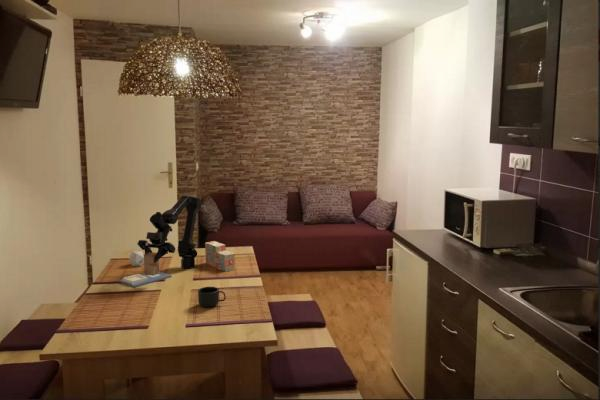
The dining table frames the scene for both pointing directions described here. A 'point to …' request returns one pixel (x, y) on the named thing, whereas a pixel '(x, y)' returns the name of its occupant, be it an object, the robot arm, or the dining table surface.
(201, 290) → the mug
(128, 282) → the board
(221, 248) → the stack of blocks
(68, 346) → the dining table surface
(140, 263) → the die
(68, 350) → the dining table surface
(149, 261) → the pillar
